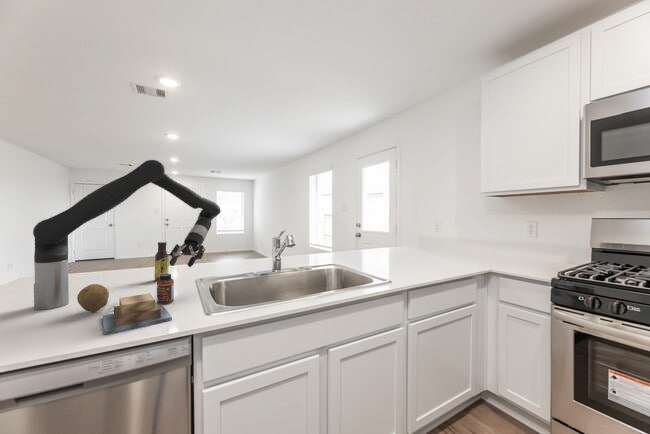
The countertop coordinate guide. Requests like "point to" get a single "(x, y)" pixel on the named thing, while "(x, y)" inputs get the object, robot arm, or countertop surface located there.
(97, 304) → the natural sponge
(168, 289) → the supplement bottle
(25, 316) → the countertop surface
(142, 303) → the block tower
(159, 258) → the sauce bottle
